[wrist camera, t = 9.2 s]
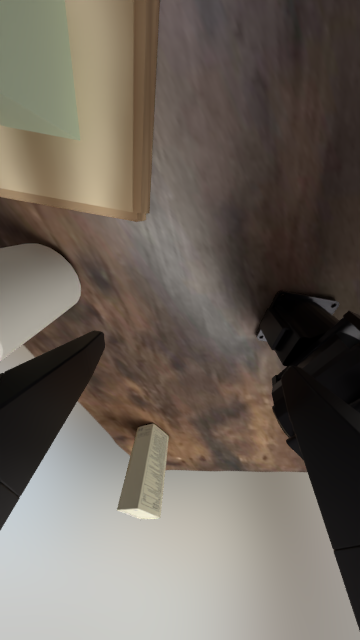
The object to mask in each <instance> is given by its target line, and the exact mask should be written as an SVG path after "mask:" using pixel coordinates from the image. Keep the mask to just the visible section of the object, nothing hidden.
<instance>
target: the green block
mask: <svg viewBox="0 0 360 640" xmlns="http://www.w3.org/2000/svg"><path fill="white" fill-rule="evenodd" d="M0 125H2V126H5V127H10V128H16V129H21V130H26V131H32V132H37V133H42V134H47V135H53V136H58V137H63V138H68V139H74V140H79V141H80V132H79V123H78V114H77V106H76V97H75V88H74V79H73V70H72V61H71V52H70V43H69V34H68V25H67V16H66V7H65V1H64V0H0Z"/></svg>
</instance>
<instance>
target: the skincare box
mask: <svg viewBox="0 0 360 640" xmlns="http://www.w3.org/2000/svg"><path fill="white" fill-rule="evenodd" d="M168 439H169V436H168V435H167V434H166V433H164V432H163V431H162V430H161V429H160V428H159V427H157V426H156V425H155V424H149V425H145V426H141V427H138V428H137V433H136V436H135V440H134V444H133V448H132V452H131V456H130V460H129V464H128V468H127V472H126V476H125V480H124V484H123V488H122V492H121V496H120V500H119V504H118V508H117V510H118V511H121V512H123V513H126V514H128V515H131V516H133V517H136V518H139V519H160V515H161V505H162V496H163V486H164V477H165V467H166V458H167V448H168Z"/></svg>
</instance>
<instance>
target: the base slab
mask: <svg viewBox="0 0 360 640" xmlns="http://www.w3.org/2000/svg"><path fill="white" fill-rule="evenodd" d="M64 1H65V7H66V16H67V25H68V34H69V43H70V52H71V61H72V70H73V79H74V88H75V97H76V106H77V114H78V123H79V132H80V141H79V140H74V139H68V138H63V137H58V136H53V135H47V134H42V133H37V132H32V131H26V130H21V129H16V128H10V127H5V126H2V125H0V197H4V198H9V199H15V200H20V201H26V202H31V203H37V204H42V205H48V206H53V207H58V208H64V209H69V210H75V211H80V212H86V213H91V214H97V215H102V216H108V217H113V218H119V219H124V220H130V221H135V222H138V221H144V220H146V213H149V210H150V189H151V169H152V148H153V128H154V107H155V87H156V66H157V46H158V25H159V5H160V0H64Z"/></svg>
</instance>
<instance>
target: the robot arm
mask: <svg viewBox="0 0 360 640" xmlns="http://www.w3.org/2000/svg"><path fill="white" fill-rule="evenodd" d="M282 294H284V295H283V296H282V297H280V296H281V295H282ZM332 304H333V305H332ZM331 305H332V306H331ZM338 306H339V302H337V301H336V300H333V299H327V298H322V297H316V296H311V295H305V294H299V293H294V292H288V291H279V292H278V293H277V294H276V296H275V298H274V300H273V302H272V304H271V306H270V308H268V309H267V311H266V314H265V316H264V318H263V320H262V322H261V324H260V326H259V327H260V328H259V330H258V332H257V334H256V337H257V339H258V340H261V341H267V342H268V344H269V346H270V347H271V349H272V350H274V351H275V352H276V353H277V355H278V357H279V359H280V361H281V362H282V364H283V365H284V366H287V367H286V368H285V369H284V370H283V371H282V372H280V373H279V374H278V375H275V376H274V377H273V378H272V385H273V389H272V397H273V401H274V406H273V407H272V409H273V412H274V415H275V417H276V419H277V421H278V423H279V425H280V426H281V428H282V430H283V431H284V432H285V434H286V435H287V436H288V437H289V438H288V439H287V440H286V442H287V444H288V445H289V446H290V447H291V448H292V449H293V450H294V451H295V452H296V453H297V454H298V455H299V456H300V457H301V458H302V459H303V460H304V463H305V466H306V469H307V472H308V475H309V478H310V481H311V484H312V487H313V490H314V493H315V496H316V499H317V502H318V505H319V508H320V511H321V514H322V517H323V520H324V523H325V526H326V529H327V532H328V535H329V538H330V541H331V544H332V548H333V549H334V554H335V557H336V560H337V563H338V566H339V569H340V572H341V575H342V578H343V581H344V585H345V588H346V591H347V593H348V597H349V600H350V603H351V606H352V609H353V612H354V615H355V618H356V621H357V624H358V627H359V630H360V316H359V315H357V314H355V313H353V312H351V311H348V312H347V313H346V314H345V315H343V318H342V319H341V320H340V321H339V320H338V319H337V318H335V317H334V316H333V315H332V314H333V313H334V312H335V310H336V309H337V308H338ZM261 335H262V336H261ZM260 336H261V337H260ZM104 348H105V341H104V333H103V332H101V331H92V332H89V333H87V334H85V335H83V336H81V337H79V338H76V339H74V340H72V341H70V342H68V343H66V344H64V345H61V346H59V347H57V348H55V349H53V350H51V351H48V352H46V353H44V354H42V355H40V356H38V357H36V358H33V359H31V360H29V361H27V362H25V363H23V364H20V365H19V366H16V367H14V368H12V369H10V370H8V371H5V373H1V374H0V530H1V528H2V527H3V525H4V523H5V522H6V520H7V518H8V517H9V515H10V513H11V511H12V510H13V508H14V506H15V505H16V503H17V502H18V500H19V497H20V496H21V495H22V493H23V491H24V489H25V488H26V486H27V484H28V483H29V481H30V479H31V478H32V476H33V474H34V473H35V471H36V469H37V468H38V466H39V464H40V463H41V461H42V459H43V458H44V456H45V454H46V453H47V451H48V449H49V448H50V446H51V444H52V443H53V441H54V439H55V438H56V436H57V434H58V433H59V431H60V429H61V428H62V426H63V424H64V423H65V421H66V419H67V418H68V416H69V414H70V413H71V411H72V409H73V407H74V406H75V404H76V402H77V401H78V399H79V397H80V396H81V394H82V392H83V391H84V389H85V387H86V386H87V384H88V382H89V381H90V379H91V377H92V375H93V373H94V371H95V368H96V366H97V364H98V362H99V360H100V357H101V355H102V353H103V351H104Z"/></svg>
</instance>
